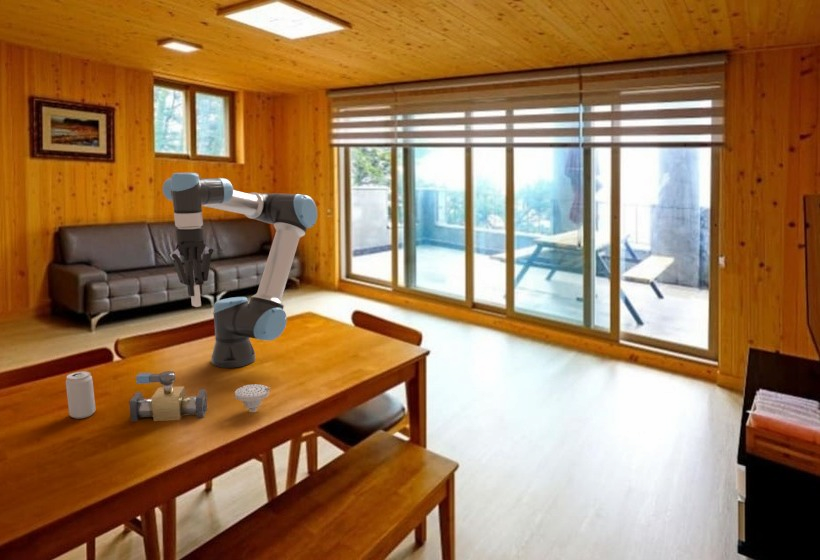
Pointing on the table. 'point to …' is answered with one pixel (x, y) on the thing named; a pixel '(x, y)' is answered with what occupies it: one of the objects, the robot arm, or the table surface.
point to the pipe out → (140, 407)
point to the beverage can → (80, 395)
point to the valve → (167, 403)
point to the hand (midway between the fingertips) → (196, 305)
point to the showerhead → (252, 395)
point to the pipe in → (194, 404)
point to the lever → (156, 377)
